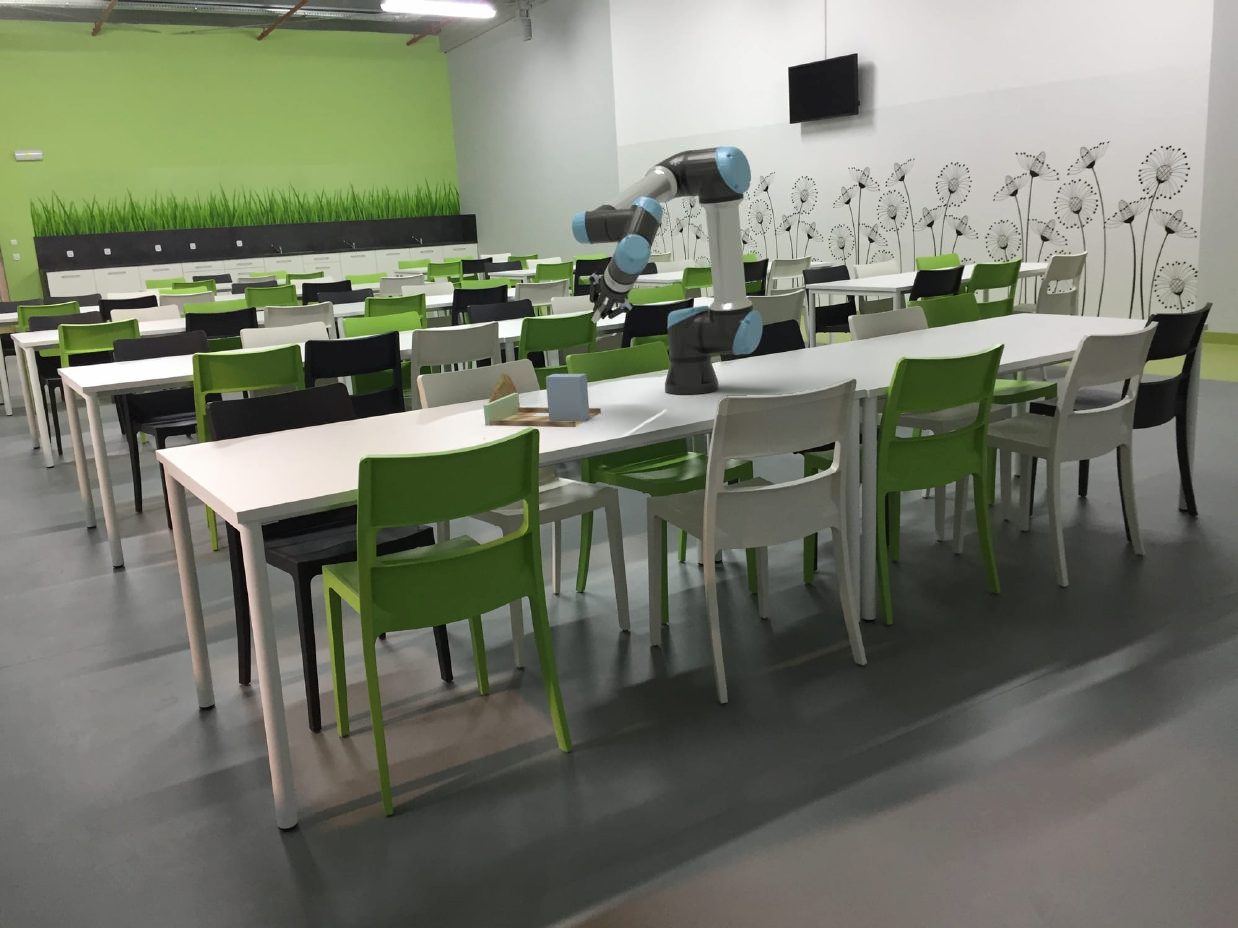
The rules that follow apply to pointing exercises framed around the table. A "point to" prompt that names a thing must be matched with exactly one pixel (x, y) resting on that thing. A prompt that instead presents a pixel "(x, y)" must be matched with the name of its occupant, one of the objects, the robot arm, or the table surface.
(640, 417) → the table surface
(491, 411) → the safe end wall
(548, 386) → the block
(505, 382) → the rock
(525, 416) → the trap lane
